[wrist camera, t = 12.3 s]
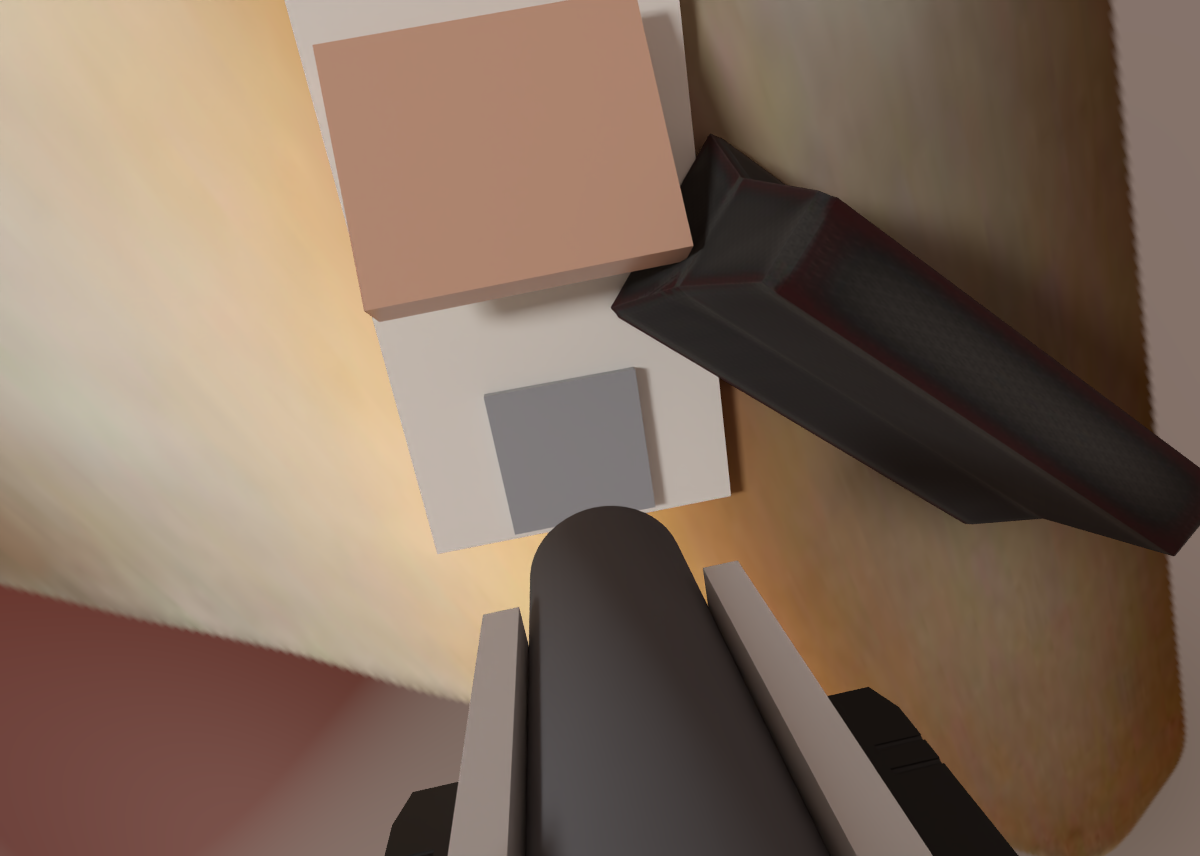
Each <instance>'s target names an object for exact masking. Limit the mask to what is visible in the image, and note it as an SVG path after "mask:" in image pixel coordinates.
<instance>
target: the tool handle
mask: <svg viewBox="0 0 1200 856" xmlns="http://www.w3.org/2000/svg"><path fill="white" fill-rule="evenodd" d="M525 856H831V855H830V853H829V851H828V849H827V847H826V845H825V843H824V841H823V839H822V837H821V835H820V833H819V831H818V829H817V827H816V825H815V823H814V821H813V819H812V817H811V815H810V813H809V811H808V809H807V807H806V805H805V803H804V801H803V799H802V797H801V794H800V792H799V790H798V788H797V786H796V784H795V782H794V780H793V778H792V776H791V774H790V772H789V770H788V768H787V766H786V764H785V762H784V760H783V758H782V756H781V754H780V752H779V750H778V748H777V746H776V744H775V742H774V740H773V738H772V736H771V733H770V731H769V729H768V727H767V725H766V723H765V721H764V719H763V717H762V715H761V713H760V711H759V709H758V707H757V705H756V703H755V701H754V699H753V697H752V695H751V693H750V691H749V689H748V687H747V685H746V683H745V681H744V679H743V677H742V675H741V672H740V670H739V668H738V666H737V664H736V662H735V660H734V658H733V656H732V654H731V652H730V650H729V648H728V646H727V644H726V642H725V640H724V638H723V636H722V634H721V632H720V630H719V628H718V626H717V624H716V622H715V620H714V618H713V616H712V614H711V611H710V609H709V607H708V605H707V603H706V601H705V599H704V597H703V595H702V593H701V591H700V589H699V587H698V585H697V583H696V581H695V579H694V577H693V575H692V573H691V571H690V569H689V567H688V565H687V563H686V561H685V559H684V557H683V555H682V553H681V550H680V548H679V546H678V544H677V543H676V541H675V539H674V537H673V536H672V534H671V533H670V532H669V531H668V529H667V528H666V527H665V526H664V525H663V524H662V523H660V522H659V521H658V520H656V519H655V518H653V517H652V516H650V515H648V514H646V513H644V512H642V511H639V510H636V509H633V508H628V507H623V506H600V507H594V508H590V509H586V510H583V511H581V512H578V513H576V514H573V515H572V516H570V517H568V518H566V519H565V520H563V521H562V522H560V523H559V524H558V525H556V526H555V527H554V528H553V529H552V530H551V531H550V532H549V533H548V534H547V536H546V537H545V538H544V539H543V541H542V542H541V544H540V546H539V547H538V549H537V551H536V554H535V556H534V559H533V562H532V566H531V573H530V617H529V674H528V730H527V787H526V843H525Z"/></svg>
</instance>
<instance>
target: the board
mask: <svg viewBox="0 0 1200 856" xmlns="http://www.w3.org/2000/svg"><path fill="white" fill-rule="evenodd" d="M560 1H566V0H285V4H286V7H287V11H288V15H289V18H290V22H291V25H292V29H293V33H294V36H295V40H296V43H297V47H298V51H299V54H300V58H301V62H302V65H303V69H304V72H305V76H306V80H307V83H308V87H309V91H310V94H311V98H312V101H313V105H314V109H315V112H316V116H317V120H318V123H319V127H320V130H321V134H322V138H323V141H324V145H325V148H326V152H327V156H328V159H329V163H330V167H331V170H332V174H333V177H334V181H335V185H336V188H337V192H338V196H339V199H340V203H341V206H342V210H343V214H344V217H345V221H346V224H347V220H346V215H345V210H344V205H343V199H342V194H341V189H340V184H339V179H338V174H337V169H336V163H335V158H334V153H333V148H332V143H331V138H330V133H329V128H328V122H327V117H326V112H325V107H324V102H323V97H322V92H321V87H320V81H319V76H318V71H317V66H316V61H315V56H314V51H313V46H312V45H315V44H320V43H326V42H332V41H338V40H343V39H349V38H355V37H360V36H366V35H372V34H378V33H383V32H389V31H395V30H400V29H406V28H412V27H418V26H423V25H429V24H435V23H440V22H446V21H452V20H458V19H463V18H469V17H475V16H480V15H486V14H492V13H498V12H503V11H509V10H515V9H520V8H526V7H532V6H538V5H543V4H549V3H555V2H560ZM637 1H638V5H639V9H640V14H641V18H642V23H643V27H644V31H645V36H646V40H647V44H648V49H649V53H650V58H651V62H652V66H653V71H654V75H655V79H656V84H657V88H658V93H659V97H660V101H661V106H662V110H663V115H664V119H665V123H666V128H667V132H668V136H669V141H670V145H671V150H672V154H673V158H674V163H675V167H676V171H677V176H678V180H679V185H681V184H682V182H683V180H684V178H685V177H686V175H687V173H688V171H689V170H690V168H691V166H692V164H693V163H694V161H695V159H696V155H695V146H694V136H693V127H692V117H691V108H690V98H689V88H688V79H687V69H686V60H685V50H684V41H683V31H682V21H681V12H680V2H679V0H637ZM347 228H348V225H347ZM348 232H349V230H348ZM630 273H631V272H628V273H623V274H618V275H613V276H608V277H603V278H598V279H593V280H588V281H583V282H578V283H573V284H568V285H563V286H558V287H553V288H548V289H543V290H538V291H533V292H528V293H523V294H518V295H513V296H508V297H503V298H498V299H493V300H488V301H483V302H478V303H473V304H468V305H463V306H458V307H453V308H448V309H443V310H438V311H433V312H428V313H423V314H418V315H413V316H408V317H403V318H398V319H393V320H388V321H383V322H379V321H377V320H376V319H375V318H373V317H372V319H373V322H374V326H375V329H376V333H377V337H378V340H379V344H380V348H381V351H382V355H383V358H384V362H385V366H386V369H387V373H388V377H389V380H390V384H391V387H392V391H393V395H394V398H395V402H396V405H397V409H398V413H399V416H400V420H401V424H402V427H403V431H404V434H405V438H406V442H407V445H408V449H409V453H410V456H411V460H412V463H413V467H414V471H415V474H416V478H417V481H418V485H419V489H420V492H421V496H422V500H423V503H424V507H425V510H426V514H427V518H428V521H429V525H430V529H431V532H432V536H433V539H434V543H435V547H436V550H437V554H440V553H445V552H450V551H455V550H460V549H465V548H471V547H476V546H481V545H486V544H491V543H496V542H501V541H506V540H511V539H516V538H521V537H526V536H531V535H536V534H541V533H546V532H550V531H551V530H552V529H553V528H554V527H555V526H556V525H558V524H559V523H560V522H562V521H563V520H565V519H566V518H568V517H570V516H572V515H573V514H576V513H578V512H581V511H583V510H586V509H590V508H594V507H600V506H623V507H628V508H633V509H636V510H639V511H642V512H644V513H647V512H652V511H657V510H662V509H667V508H672V507H677V506H682V505H687V504H693V503H698V502H703V501H708V500H713V499H718V498H723V497H728V496H731V491H730V481H729V472H728V462H727V452H726V443H725V433H724V424H723V414H722V404H721V395H720V385H719V377H717V376H715V375H714V374H712V373H710V372H709V371H707V370H705V369H704V368H702V367H700V366H699V365H697V364H695V363H694V362H692V361H690V360H689V359H687V358H685V357H684V356H682V355H680V354H678V353H677V352H675V351H673V350H672V349H670V348H668V347H667V346H665V345H663V344H662V343H660V342H658V341H657V340H655V339H653V338H652V337H650V336H648V335H647V334H645V333H643V332H641V331H640V330H638V329H636V328H635V327H633V326H631V325H630V324H628V323H626V322H625V321H623V320H621V319H620V318H618V316H617V315H616V314H615V312H614V311H613V310H612V309H611V306H612V304H613V303H614V301H615V299H616V297H617V296H618V294H619V292H620V290H621V289H622V287H623V285H624V283H625V282H626V280H627V278H628V276H629V275H630Z"/></svg>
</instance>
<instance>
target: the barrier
mask: <svg viewBox="0 0 1200 856" xmlns="http://www.w3.org/2000/svg"><path fill="white" fill-rule="evenodd" d="M680 189H681V193H682V198H683V202H684V206H685V211H686V215H687V220H688V224H689V228H690V233H691V237H692V241H693V248H692V250H691V251H690V253H689V255H688V257H687V259H685V260H683V261H681V262H678V263H673V264H668V265H663V266H658V267H653V268H648V269H643V270H638V271H633V272H631V273H630V275H629V276H628V278H627V280H626V282H625V283H624V285H623V287H622V289H621V290H620V292H619V294H618V296H617V297H616V299H615V301H614V303H613V304H612V306H611V309H612V310H613V311H614V312H615V314H616V315H617V316H618V318H620V319H621V320H623V321H625V322H626V323H628V324H630V325H631V326H633V327H635V328H636V329H638V330H640V331H641V332H643V333H645V334H647V335H648V336H650V337H652V338H653V339H655V340H657V341H658V342H660V343H662V344H663V345H665V346H667V347H668V348H670V349H672V350H673V351H675V352H677V353H678V354H680V355H682V356H684V357H685V358H687V359H689V360H690V361H692V362H694V363H695V364H697V365H699V366H700V367H702V368H704V369H705V370H707V371H709V372H710V373H712V374H714V375H715V376H717V377H719V378H721V379H722V380H724V381H726V382H727V383H729V384H731V385H732V386H734V387H736V388H737V389H739V390H741V391H742V392H744V393H746V394H747V395H749V396H751V397H752V398H754V399H756V400H758V401H759V402H761V403H763V404H764V405H766V406H768V407H769V408H771V409H773V410H774V411H776V412H778V413H779V414H781V415H783V416H784V417H786V418H788V419H789V420H791V421H793V422H795V423H796V424H798V425H800V426H801V427H803V428H805V429H806V430H808V431H810V432H811V433H813V434H815V435H816V436H818V437H820V438H821V439H823V440H825V441H826V442H828V443H830V444H832V445H833V446H835V447H837V448H838V449H840V450H842V451H843V452H845V453H847V454H848V455H850V456H852V457H853V458H855V459H857V460H858V461H860V462H862V463H863V464H865V465H867V466H869V467H870V468H872V469H874V470H875V471H877V472H879V473H880V474H882V475H884V476H885V477H887V478H889V479H890V480H892V481H894V482H895V483H897V484H899V485H900V486H902V487H904V488H906V489H907V490H909V491H911V492H912V493H914V494H916V495H917V496H919V497H921V498H922V499H924V500H926V501H927V502H929V503H931V504H932V505H934V506H936V507H938V508H939V509H941V510H943V511H944V512H946V513H948V514H949V515H951V516H953V517H954V518H956V519H958V520H959V521H961V522H963V523H965V524H981V523H993V522H1005V521H1017V520H1030V519H1042V518H1044V519H1047V520H1051V521H1054V522H1058V523H1061V524H1064V525H1068V526H1071V527H1075V528H1078V529H1082V530H1085V531H1088V532H1092V533H1095V534H1099V535H1102V536H1106V537H1109V538H1113V539H1116V540H1119V541H1123V542H1126V543H1130V544H1133V545H1137V546H1140V547H1144V548H1147V549H1150V550H1154V551H1157V552H1161V553H1164V554H1168V555H1171V556H1175V555H1176V554H1177V553H1178V552H1179V550H1180V549H1181V548H1182V546H1183V545H1184V544H1185V543H1186V542H1187V540H1188V539H1189V538H1190V537H1191V536H1192V534H1193V533H1194V532H1195V531H1196V529H1197V528H1198V527H1199V526H1200V468H1199V467H1198V466H1197V465H1195V464H1194V463H1193V462H1191V461H1190V460H1189V459H1187V458H1186V457H1184V456H1183V455H1182V454H1181V453H1179V452H1178V451H1177V450H1175V449H1174V448H1173V447H1171V446H1170V445H1168V444H1167V443H1166V442H1164V441H1163V440H1162V439H1160V438H1159V437H1158V436H1156V435H1155V434H1154V433H1152V432H1151V431H1150V430H1148V429H1147V428H1146V427H1144V426H1143V425H1142V424H1140V423H1139V422H1138V421H1136V420H1135V419H1134V418H1132V417H1131V416H1130V415H1128V414H1127V413H1126V412H1124V411H1123V410H1122V409H1120V408H1119V407H1118V406H1116V405H1115V404H1114V403H1112V402H1111V401H1109V400H1108V399H1107V398H1105V397H1104V396H1103V395H1101V394H1100V393H1099V392H1097V391H1096V390H1095V389H1093V388H1092V387H1091V386H1089V385H1088V384H1087V383H1085V382H1084V381H1083V380H1081V379H1080V378H1079V377H1077V376H1076V375H1075V374H1073V373H1072V372H1071V371H1069V370H1068V369H1067V368H1065V367H1064V366H1063V365H1061V364H1060V363H1059V362H1057V361H1056V360H1054V359H1053V358H1052V357H1050V356H1049V355H1048V354H1046V353H1045V352H1044V351H1042V350H1041V349H1040V348H1038V347H1037V346H1036V345H1034V344H1033V343H1032V342H1030V341H1029V340H1028V339H1026V338H1025V337H1024V336H1022V335H1021V334H1020V333H1018V332H1017V331H1016V330H1014V329H1013V328H1012V327H1010V326H1009V325H1008V324H1006V323H1005V322H1004V321H1002V320H1001V319H999V318H998V317H997V316H995V315H994V314H993V313H991V312H990V311H989V310H987V309H986V308H985V307H983V306H982V305H981V304H979V303H978V302H977V301H975V300H974V299H973V298H971V297H970V296H969V295H967V294H966V293H965V292H963V291H962V290H961V289H959V288H958V287H957V286H955V285H954V284H953V283H951V282H950V281H949V280H947V279H946V278H944V277H943V276H942V275H940V274H939V273H938V272H936V271H935V270H934V269H932V268H931V267H930V266H928V265H927V264H926V263H924V262H923V261H922V260H920V259H919V258H918V257H916V256H915V255H914V254H912V253H911V252H910V251H908V250H907V249H906V248H904V247H903V246H902V245H900V244H899V243H898V242H896V241H895V240H894V239H892V238H891V237H890V236H888V235H887V234H885V233H884V232H883V231H881V230H880V229H879V228H877V227H876V226H875V225H873V224H872V223H871V222H869V221H868V220H867V219H865V218H864V217H863V216H861V215H860V214H859V213H857V212H856V211H855V210H853V209H852V208H851V207H849V206H848V205H847V204H845V203H844V202H843V201H841V200H840V199H839V198H837V197H833V196H830V195H828V194H825V193H823V192H820V191H817V190H811V189H805V188H799V187H793V186H787V185H785V184H784V183H782V182H781V181H780V180H778V179H777V178H775V177H774V176H773V175H771V174H770V173H769V172H767V171H766V170H764V169H763V168H762V167H760V166H759V165H758V164H756V163H755V162H754V161H752V160H751V159H749V158H748V157H747V156H745V155H744V154H743V153H741V152H740V151H738V150H737V149H736V148H734V147H733V146H732V145H730V144H729V143H728V142H726V141H725V140H723V139H722V138H719V137H716V136H714V135H712V134H710V135H709V136H708V138H707V140H706V142H705V143H704V145H703V147H702V149H701V150H700V152H699V154H698V156H697V157H696V159H695V161H694V163H693V164H692V166H691V168H690V170H689V171H688V173H687V175H686V177H685V178H684V180H683V182H682V184H681V185H680Z"/></svg>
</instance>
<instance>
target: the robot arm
mask: <svg viewBox="0 0 1200 856" xmlns="http://www.w3.org/2000/svg"><path fill="white" fill-rule="evenodd" d="M703 572H704V579H705V586H706V593H707V601H708V607H709V609H710V611H711V614H712V616H713V618H714V620H715V622H716V624H717V626H718V628H719V630H720V632H721V634H722V636H723V638H724V640H725V642H726V644H727V646H728V648H729V650H730V652H731V654H732V656H733V658H734V660H735V662H736V664H737V666H738V668H739V670H740V672H741V675H742V677H743V679H744V681H745V683H746V685H747V687H748V689H749V691H750V693H751V695H752V697H753V699H754V701H755V703H756V705H757V707H758V709H759V711H760V713H761V715H762V717H763V719H764V721H765V723H766V725H767V727H768V729H769V731H770V733H771V736H772V738H773V740H774V742H775V744H776V746H777V748H778V750H779V752H780V754H781V756H782V758H783V760H784V762H785V764H786V766H787V768H788V770H789V772H790V774H791V776H792V778H793V780H794V782H795V784H796V786H797V788H798V790H799V792H800V794H801V797H802V799H803V801H804V803H805V805H806V807H807V809H808V811H809V813H810V815H811V817H812V819H813V821H814V823H815V825H816V827H817V829H818V831H819V833H820V835H821V837H822V839H823V841H824V843H825V845H826V847H827V849H828V851H829V853H830V855H831V856H1018V855H1017V853H1016V852H1015V851H1014V850H1013V848H1012V847H1011V846H1010V845H1009V843H1008V842H1007V841H1006V840H1005V839H1004V837H1003V836H1002V835H1001V834H1000V832H999V831H998V830H997V829H996V827H995V826H994V825H993V824H992V822H991V821H990V820H989V819H988V817H987V816H986V815H985V814H984V812H983V811H982V810H981V809H980V807H979V806H978V805H977V804H976V802H975V801H974V800H973V799H972V797H971V796H970V795H969V794H968V793H967V791H966V790H965V789H964V788H963V786H962V785H961V784H960V783H959V781H958V780H957V779H956V778H955V776H954V775H953V774H952V773H951V771H950V770H949V769H948V768H947V766H946V765H945V764H944V763H943V764H942V763H941V761H940V759H939V756H938V755H937V754H936V753H935V751H934V750H933V749H932V748H931V746H930V745H929V744H928V743H927V742H926V740H923V739H922V737H921V734H920V733H919V732H918V730H917V729H916V728H915V727H914V725H913V724H912V723H911V722H910V720H909V719H908V718H907V717H906V715H905V714H904V713H903V712H902V710H901V709H900V708H899V707H898V706H896V705H895V704H893V703H892V702H890V701H889V700H887V699H886V698H884V697H883V696H881V695H880V694H878V693H877V692H875V691H874V690H872V689H871V688H869V687H866V688H862V689H857V690H853V691H848V692H844V693H839V694H835V695H831V696H827V695H826V694H825V692H824V691H823V689H822V688H821V686H820V685H819V683H818V682H817V680H816V679H815V677H814V675H813V674H812V672H811V671H810V669H809V668H808V666H807V665H806V663H805V662H804V660H803V659H802V657H801V656H800V654H799V653H798V651H797V650H796V648H795V647H794V645H793V644H792V642H791V641H790V639H789V638H788V636H787V635H786V633H785V632H784V630H783V629H782V627H781V626H780V624H779V623H778V621H777V620H776V618H775V617H774V615H773V613H772V612H771V610H770V609H769V607H768V606H767V604H766V603H765V601H764V600H763V598H762V597H761V595H760V594H759V592H758V591H757V589H756V588H755V586H754V585H753V583H752V582H751V580H750V579H749V577H748V576H747V574H746V573H745V571H744V570H743V568H742V567H741V565H740V564H739V562H738V561H734V562H729V563H724V564H720V565H715V566H710V567H705V568H703ZM528 674H529V645H528V641H527V637H526V633H525V629H524V625H523V621H522V617H521V613H520V609H519V607H518V608H513V609H508V610H503V611H499V612H494V613H489V614H485V615H483V619H482V626H481V632H480V639H479V646H478V653H477V660H476V666H475V673H474V680H473V687H472V694H471V700H470V707H469V714H468V722H467V728H466V735H465V742H464V749H463V755H462V762H461V768H460V775H459V782H456V783H451V784H447V785H442V786H438V787H434V788H429V789H425V790H420V791H416V792H413V793H412V794H411V796H410V798H409V799H408V801H407V803H406V804H405V806H404V807H403V809H402V811H401V812H400V814H399V815H398V817H397V818H396V820H395V822H394V823H393V825H392V828H391V832H390V836H389V840H388V844H387V848H386V852H385V856H525V843H526V787H527V730H528Z"/></svg>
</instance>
